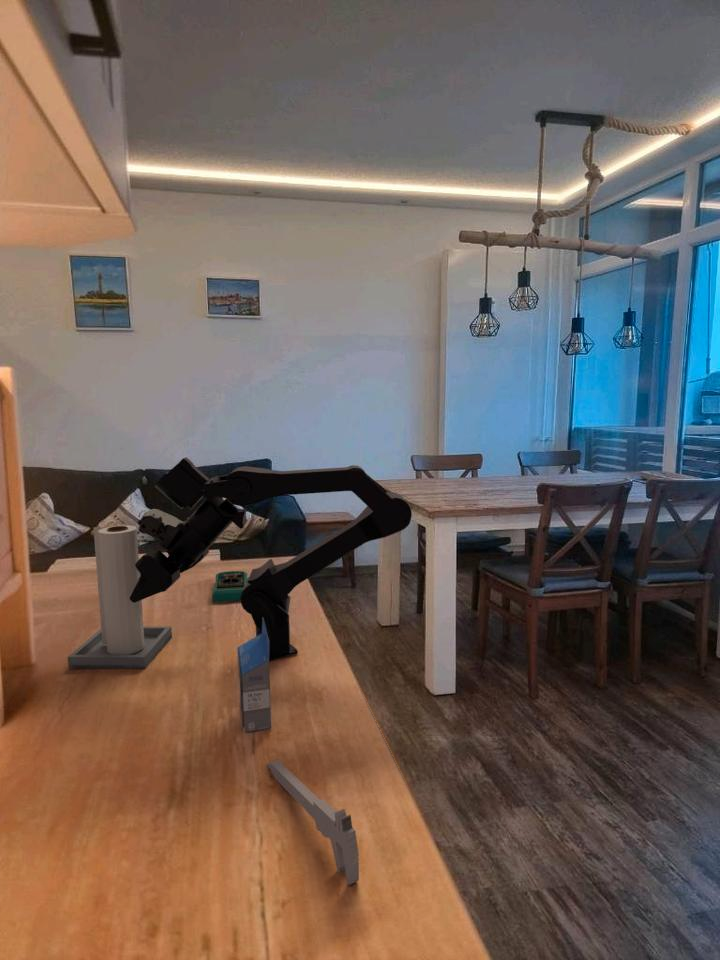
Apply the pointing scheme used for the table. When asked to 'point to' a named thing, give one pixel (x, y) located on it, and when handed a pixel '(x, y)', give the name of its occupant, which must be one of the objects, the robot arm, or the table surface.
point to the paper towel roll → (118, 589)
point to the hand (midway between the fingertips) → (144, 591)
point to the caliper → (324, 821)
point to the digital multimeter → (229, 586)
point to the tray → (98, 657)
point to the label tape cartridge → (255, 683)
